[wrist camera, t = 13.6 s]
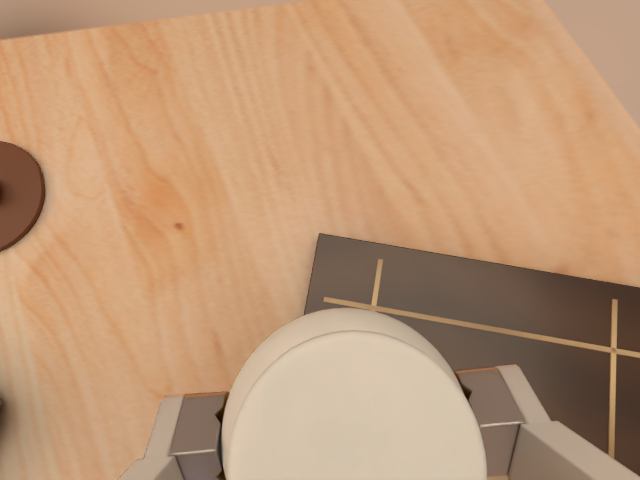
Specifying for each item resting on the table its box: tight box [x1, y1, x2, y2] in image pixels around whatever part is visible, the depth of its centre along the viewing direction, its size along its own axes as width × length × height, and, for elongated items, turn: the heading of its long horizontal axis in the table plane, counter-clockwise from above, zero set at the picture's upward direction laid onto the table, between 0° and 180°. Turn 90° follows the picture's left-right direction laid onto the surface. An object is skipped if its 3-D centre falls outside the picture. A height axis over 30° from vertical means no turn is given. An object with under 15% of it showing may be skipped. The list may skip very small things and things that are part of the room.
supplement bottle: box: [221, 308, 487, 480], centre depth 11 cm, size 5×5×10 cm
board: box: [304, 233, 640, 480], centre depth 26 cm, size 22×22×2 cm
